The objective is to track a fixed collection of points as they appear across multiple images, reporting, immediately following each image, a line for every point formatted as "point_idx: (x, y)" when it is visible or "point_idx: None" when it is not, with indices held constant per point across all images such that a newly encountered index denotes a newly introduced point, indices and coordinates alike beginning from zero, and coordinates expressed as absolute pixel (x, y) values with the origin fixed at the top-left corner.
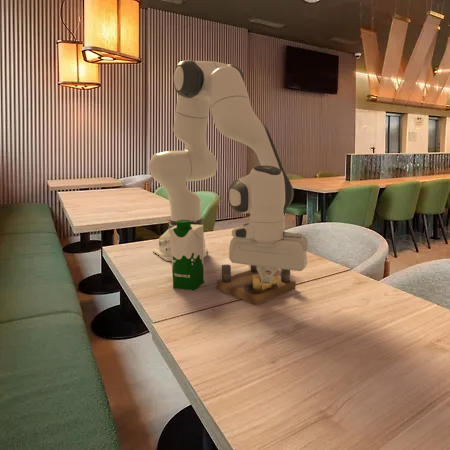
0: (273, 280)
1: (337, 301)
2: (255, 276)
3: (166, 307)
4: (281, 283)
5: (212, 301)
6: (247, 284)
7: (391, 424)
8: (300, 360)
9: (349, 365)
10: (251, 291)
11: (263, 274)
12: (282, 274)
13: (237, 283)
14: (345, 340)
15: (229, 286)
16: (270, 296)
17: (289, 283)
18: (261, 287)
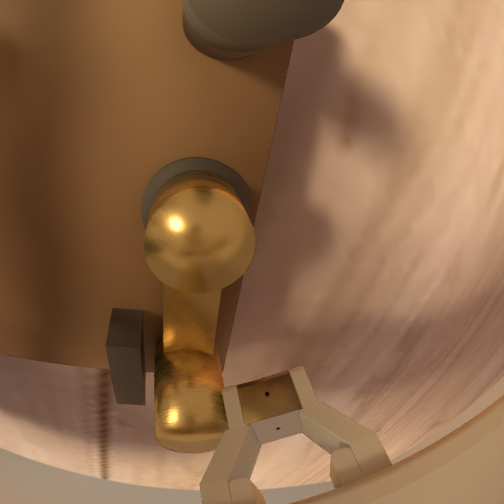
0: (242, 268)
1: (494, 85)
2: (191, 444)
3: (42, 448)
4: (230, 97)
5: (61, 394)
6: (137, 401)
7: (482, 389)
8: (416, 404)
9: (476, 361)
10: (153, 354)
11: (254, 447)
12: (228, 51)
13: (2, 313)
14: (490, 312)
15: (16, 353)
16: None
17: (289, 53)
18: (220, 367)
